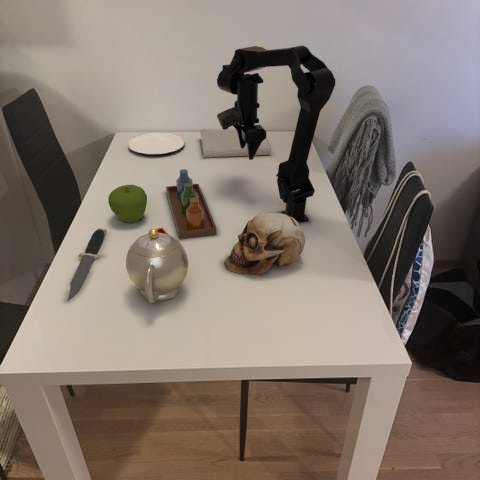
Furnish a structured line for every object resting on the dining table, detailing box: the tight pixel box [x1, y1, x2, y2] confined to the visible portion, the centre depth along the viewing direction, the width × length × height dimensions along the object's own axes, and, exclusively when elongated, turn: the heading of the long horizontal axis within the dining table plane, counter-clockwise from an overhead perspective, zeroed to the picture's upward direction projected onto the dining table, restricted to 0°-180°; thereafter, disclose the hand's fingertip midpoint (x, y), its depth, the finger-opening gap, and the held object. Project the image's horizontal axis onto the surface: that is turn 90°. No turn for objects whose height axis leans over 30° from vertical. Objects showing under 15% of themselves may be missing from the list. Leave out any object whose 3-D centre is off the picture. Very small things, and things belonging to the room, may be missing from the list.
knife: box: [67, 227, 108, 301], centre depth 118 cm, size 30×2×5 cm
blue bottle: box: [175, 168, 194, 200], centre depth 142 cm, size 5×5×8 cm
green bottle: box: [181, 183, 198, 216], centre depth 135 cm, size 5×5×8 cm
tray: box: [165, 183, 218, 240], centre depth 138 cm, size 28×10×2 cm, turn 14°
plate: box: [127, 132, 186, 156], centre depth 176 cm, size 21×21×2 cm
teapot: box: [125, 226, 189, 304], centre depth 104 cm, size 18×14×16 cm
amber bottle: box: [186, 198, 205, 230], centre depth 128 cm, size 5×5×8 cm
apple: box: [107, 184, 148, 224], centre depth 132 cm, size 11×10×10 cm
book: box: [199, 128, 272, 159], centre depth 176 cm, size 18×4×24 cm
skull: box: [223, 212, 306, 276], centre depth 117 cm, size 16×17×13 cm
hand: (246, 153), depth 143 cm, fingers open, 9 cm apart
